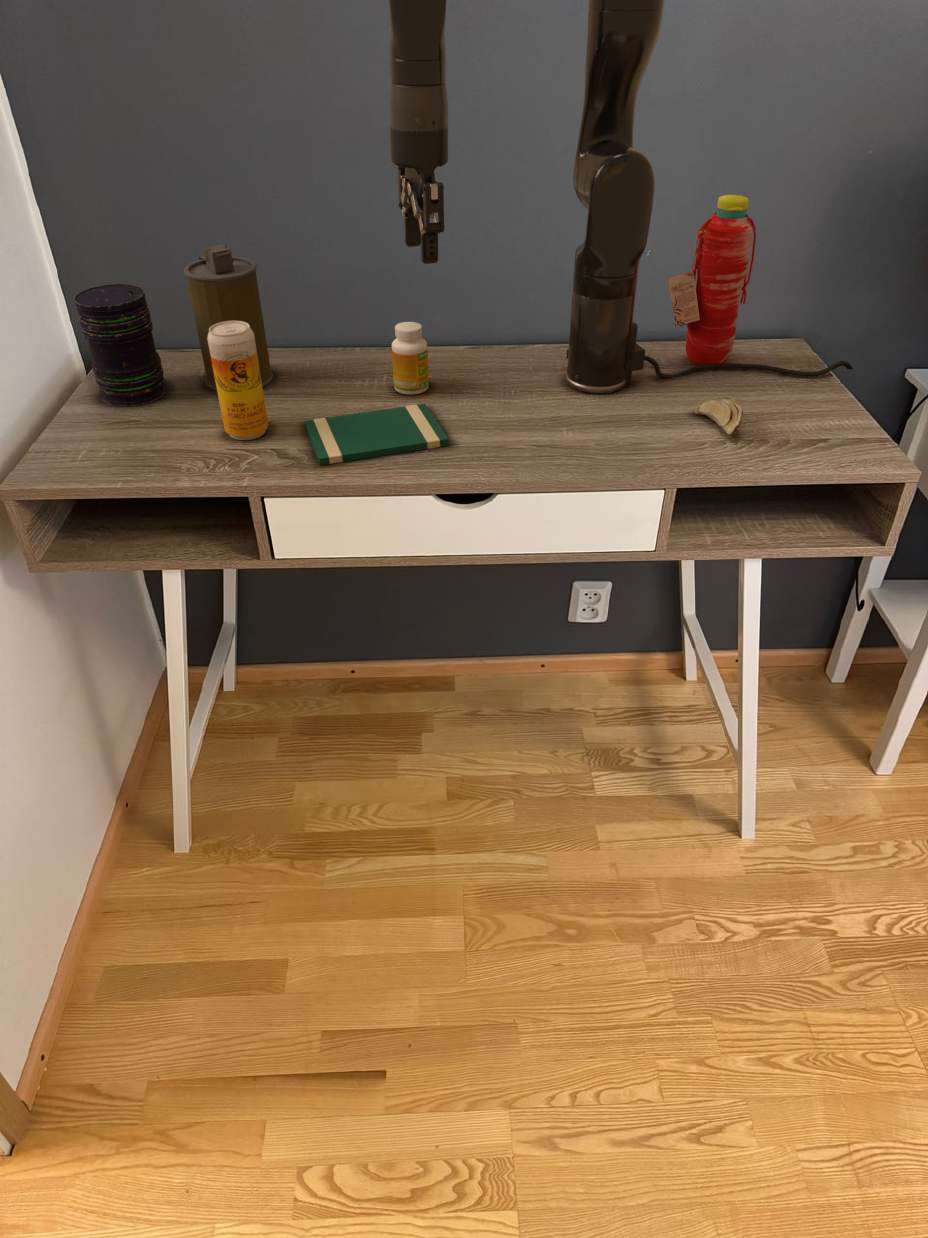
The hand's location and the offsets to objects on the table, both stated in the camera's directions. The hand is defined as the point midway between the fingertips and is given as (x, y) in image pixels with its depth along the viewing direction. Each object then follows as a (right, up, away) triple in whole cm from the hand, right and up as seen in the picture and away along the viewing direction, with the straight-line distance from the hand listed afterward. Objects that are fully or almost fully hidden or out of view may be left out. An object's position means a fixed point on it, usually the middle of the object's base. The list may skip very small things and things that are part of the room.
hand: (421, 253), depth 124 cm
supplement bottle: (-2, -16, +13) cm, 20 cm away
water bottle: (+44, -9, +20) cm, 50 cm away
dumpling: (+42, -24, +2) cm, 49 cm away
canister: (-30, -13, +16) cm, 36 cm away
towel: (-6, -26, 0) cm, 26 cm away
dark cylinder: (-45, -17, +12) cm, 49 cm away
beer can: (-25, -25, +2) cm, 35 cm away
